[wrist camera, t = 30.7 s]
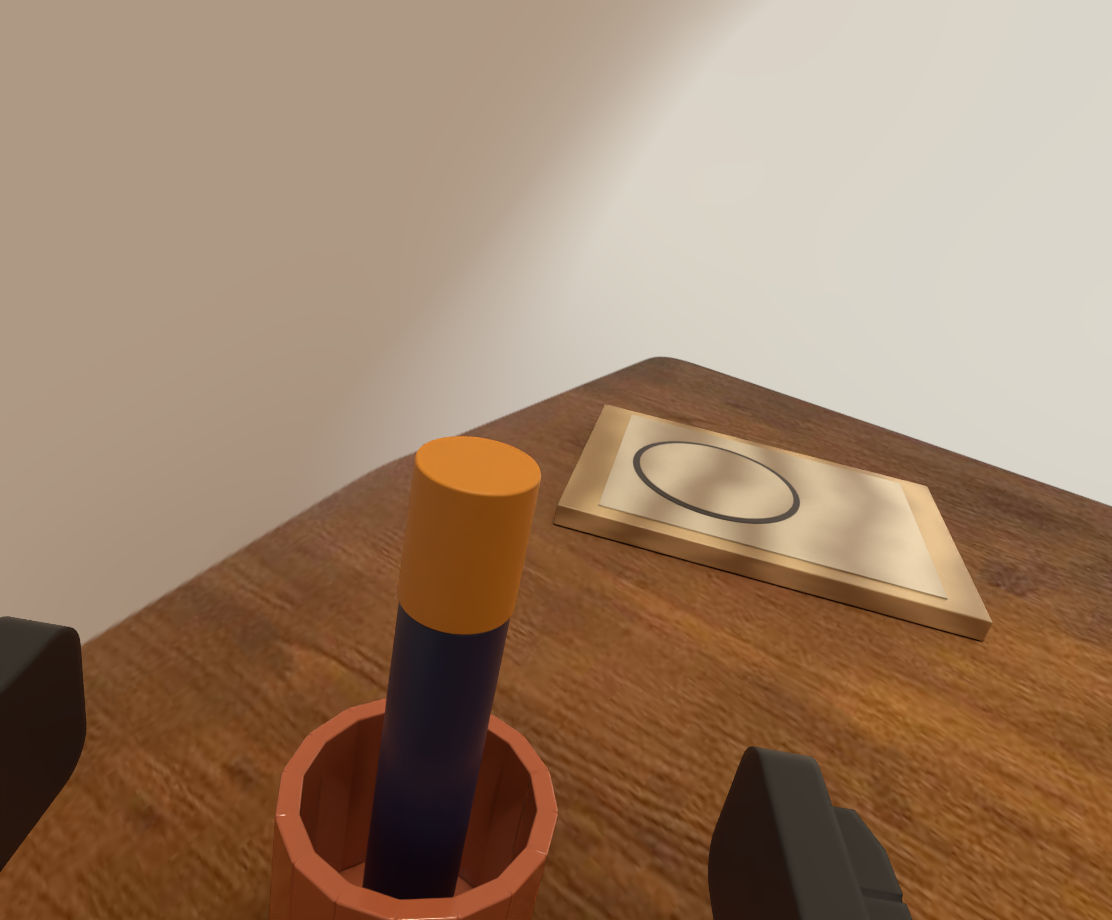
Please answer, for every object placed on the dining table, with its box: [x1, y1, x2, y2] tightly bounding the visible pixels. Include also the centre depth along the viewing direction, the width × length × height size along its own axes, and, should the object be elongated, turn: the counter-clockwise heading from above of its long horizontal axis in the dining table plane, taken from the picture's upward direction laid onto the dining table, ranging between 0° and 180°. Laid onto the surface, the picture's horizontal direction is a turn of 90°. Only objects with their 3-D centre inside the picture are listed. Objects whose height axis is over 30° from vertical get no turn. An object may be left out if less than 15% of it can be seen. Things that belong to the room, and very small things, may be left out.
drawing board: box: [554, 405, 992, 641], centre depth 49 cm, size 22×16×1 cm
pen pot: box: [269, 698, 558, 920], centre depth 20 cm, size 6×6×6 cm
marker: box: [362, 436, 541, 900], centre depth 18 cm, size 2×2×14 cm
